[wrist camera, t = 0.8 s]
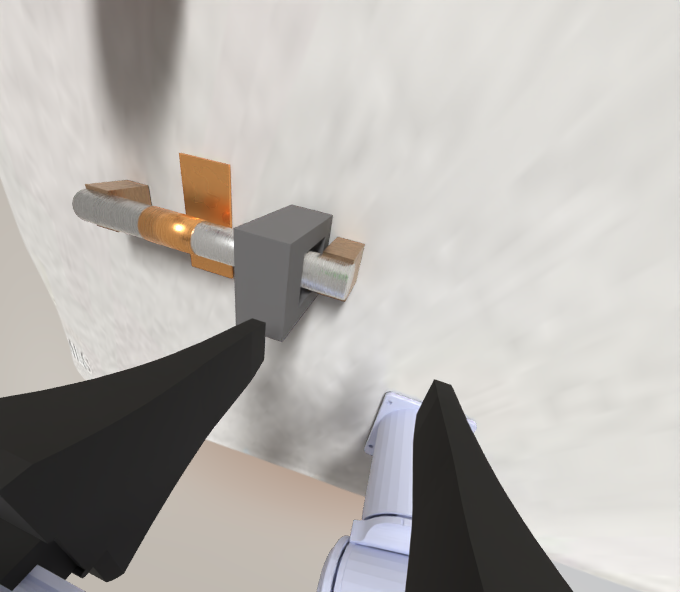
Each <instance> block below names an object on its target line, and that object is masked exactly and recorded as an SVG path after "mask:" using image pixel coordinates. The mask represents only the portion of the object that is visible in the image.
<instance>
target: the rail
mask: <svg viewBox="0 0 680 592" xmlns="http://www.w3.org/2000/svg"><path fill="white" fill-rule="evenodd" d="M179 158H180V167H181V175H182V184H183V193H184V201H185V210H186V215H185V214H182V213H178V212H175V211H171V210H168V209H164V208H161V207H157V206H152V205H151V199H150V194H149V188H148V185H144V184H140V183H137V182H133V181H129V180H122V181H112V182H102V183H93V184H85V186H86V189H83V190H80V191H79V192H77V193H76V195H75V196H74V198H73V202H72V205H73V209H74V212H75V213H76V215H77V216H78V217H79V218H81V219H82V220H84V221H87V222H90V223H94V224H97V226H100V227H103V228H107V229H110V230H113V231H116V232H123V233H126V234H130V235H133V236H136V237H139V238H143V239H145V240H147V241H150V242H153V243H156V244H160V245H163V246H166V247H169V248H173V249H176V250H179V251H182V252H186V253H189V254H191V262H192V266H193V267H197V268H200V269H203V270H206V271H209V272H212V273H216V274H219V275H222V276H225V277H228V278H231V279H232V278H233V266H234V235H233V229H232V211H231V177H230V165H229V164H225V163H221V162H216V161H212V160H208V159H204V158H200V157H196V156H192V155H188V154H184V153H179ZM364 246H365V244H362V243H359V242H355V241H351V240H348V239H344V238H340V237H337V238H336V239H335V240H334V241H333V242H332V243H331V244H330V245H329V246H328V247H327V248H326V249H325V250H324V251H323V254H320V253H317V252H313V251H310V250H309V251H308V252H306V253H305V254H304V262H303V271H302V279H301V287H302V288H306V289H309V290H312V291H315V292H317V293H318V294H321V295H324V296H328V297H331V298H334V299H337V300H341V301H344V302H345V301H346V299H347V297H348V296H349V294H350V292H351V290H352V288H353V286H354V285H355V283H356V280H357V276H358V271H359V267H360V263H361V259H362V254H363V250H364Z"/></svg>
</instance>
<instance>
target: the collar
mask: <svg viewBox="0 0 680 592" xmlns="http://www.w3.org/2000/svg"><path fill="white" fill-rule="evenodd" d="M332 217H333V215H330V214H326V213H322V212H318V211H315V210H311V209H307V208H303V207H299V206H295V205H289V206H287V207H285V208H282V209H280V210H277V211H275V212H272V213H270V214H267V215H265V216H262V217H260V218H257V219H255V220H252V221H250V222H248V223H245V224H243V225H240V226H238V227H235V228H233V235H234V272H235V310H236V326H237V325H239V324H241V323H243V322H245V321H247V320H249V319H252V318H253V319H256V320H259V321H262V322H265V323H266V330H265V336H266V337H269V338H272V339H275V340H278V341H280V342H283V340H284V339H285V338H286V336H287V335H288V334H289V332H290V331H291V330H292V328H293V327H294V326H295V324H296V323H297V322H298V320H299V319H300V318H301V316H302V315H303V314H304V313H305V311H306V310H307V309H308V307H309V306H310V305H311V303H312V302H313V301H314V299H315V298H316V297H317V295H318V293H317V292H315V291H312V290H309V289H306V288H302V287H301V279H302V271H303V262H304V254H305V253H306V252H308V251H309V250H310V251H313V252H317V253H320V254H323V251H324V250H325V249H326V248H327V247H328V242H329V236H330V230H331V224H332Z"/></svg>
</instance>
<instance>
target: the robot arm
mask: <svg viewBox="0 0 680 592" xmlns="http://www.w3.org/2000/svg"><path fill="white" fill-rule="evenodd" d="M265 330H266V323H265V322H262V321H259V320H256V319H253V318H252V319H249V320H247V321H245V322H243V323H241V324H239V325H237V326H234V327H232V328H230V329H228V330H226V331H224V332H222V333H220V334H218V335H216V336H213V337H211V338H209V339H207V340H205V341H203V342H200V343H198V344H196V345H193V346H191V347H188V348H186V349H184V350H181V351H179V352H176V353H174V354H171V355H169V356H166V357H163V358H161V359H158V360H155V361H152V362H149V363H146V364H143V365H140V366H137V367H134V368H131V369H127V370H124V371H120V372H116V373H113V374H109V375H106V376H102V377H99V378H95V379H91V380H87V381H83V382H79V383H74V384H70V385H65V386H61V387H56V388H52V389H47V390H42V391H37V392H31V393H25V394H20V395H14V396H8V397H3V398H0V592H85V591H83V590H82V589H80V588H78V587H76V586H74V585H73V584H71V583H69V582H67V581H66V579H67V577H68V576H69V575H70V574H71V573H73V574H75V575H77V576H79V577H81V578H84V577H85V576H86V575H87V574H88V573H90V574H92V575H94V576H96V577H98V578H100V579H101V580H103V581H105V582H109V581H112V580H114V579H116V578H118V577H119V576H121V575H122V574H124V573H125V571H126V569H127V567H128V565H129V563H130V562H131V560H132V558H133V556H134V554H135V553H136V551H137V549H138V547H139V546H140V544H141V542H142V541H143V539H144V537H145V535H146V533H147V532H148V530H149V528H150V526H151V525H152V523H153V521H154V520H155V518H156V516H157V515H158V513H159V511H160V510H161V508H162V506H163V505H164V503H165V502H166V500H167V498H168V497H169V495H170V493H171V491H172V490H173V488H174V487H175V485H176V484H177V482H178V480H179V479H180V477H181V476H182V474H183V472H184V471H185V469H186V468H187V466H188V465H189V463H190V462H191V460H192V459H193V457H194V456H195V454H196V453H197V451H198V450H199V448H200V447H201V445H202V444H203V442H204V441H205V439H206V438H207V436H208V435H209V434H210V432H211V431H212V429H213V428H214V427H215V426H216V424H217V423H218V422H219V421H220V419H221V418H222V417H223V416H224V414H225V413H226V412H227V411H228V409H229V408H230V407H231V406H232V404H233V403H234V402H235V401H236V399H237V398H238V397H239V396H240V394H241V393H242V392H243V391H244V389H245V388H246V387H247V386H248V384H249V383H250V382H251V380H252V379H253V377H254V376H255V374H256V372H257V371H258V369H259V367H260V366H261V364H262V362H263V361H264V352H265ZM476 429H477V425H476V423H475V422H474V421H472V420H469V419H467V418H466V416H465V414H464V412H463V410H462V408H461V405H460V403H459V401H458V399H457V396H456V394H455V392H454V390H453V388H452V386H451V385H450V384H447V383H444V382H441V381H438V380H435V379H434V381H433V383H432V385H431V387H430V389H429V391H428V393H427V394H426V396H425V398H424V400H423V402H422V403H421V402H418V401H415V400H412V399H410V398H407V397H404V396H401V395H398V394H395V393H392V392H388V393H386V394H385V397H384V400H383V402H382V405H381V407H380V410H379V412H378V415H377V417H376V420H375V422H374V425H373V427H372V430H371V432H370V435H369V437H368V440H367V442H366V445H365V448H364V451H365V453H367V454H369V455H372V456H373V458H372V463H371V469H370V474H369V480H368V485H367V491H366V496H365V502H364V507H363V515H362V520H353V525H352V530H351V534H350V536H342V537H341V538H340V539H339V540H338V541H337V543H336V544H335V546H334V547H333V548H332V549H331V551H330V552H329V554H328V556H327V558H326V561H325V563H324V566H323V569H322V572H321V576H320V580H319V583H318V588H317V592H573V591H572V589H571V588H570V587H569V585H568V584H567V582H566V581H565V580H564V579H563V577H562V576H561V574H560V573H559V572H558V570H557V569H556V567H555V566H554V564H553V563H552V562H551V560H550V559H549V557H548V556H547V555H546V553H545V552H544V550H543V549H542V548H541V546H540V545H539V543H538V542H537V540H536V539H535V538H534V536H533V535H532V533H531V532H530V530H529V529H528V527H527V526H526V524H525V523H524V521H523V520H522V518H521V516H520V515H519V513H518V512H517V510H516V509H515V507H514V505H513V504H512V502H511V501H510V499H509V497H508V496H507V494H506V493H505V491H504V489H503V487H502V486H501V484H500V482H499V481H498V479H497V477H496V475H495V473H494V472H493V470H492V468H491V466H490V464H489V463H488V461H487V459H486V457H485V455H484V453H483V451H482V449H481V447H480V445H479V443H478V441H477V439H476V437H475V435H474V432H475V431H476Z"/></svg>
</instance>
